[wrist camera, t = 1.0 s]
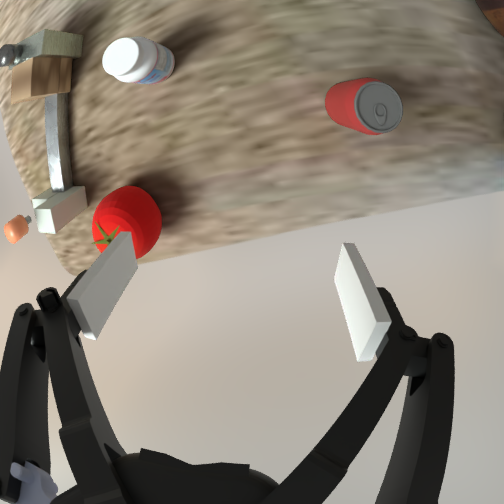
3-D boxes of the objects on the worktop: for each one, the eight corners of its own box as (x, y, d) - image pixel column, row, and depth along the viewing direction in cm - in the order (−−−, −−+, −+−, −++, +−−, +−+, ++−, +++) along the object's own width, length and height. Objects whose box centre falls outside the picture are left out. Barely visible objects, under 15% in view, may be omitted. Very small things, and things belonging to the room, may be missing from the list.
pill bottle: (135, 85, 31) (94, 85, 22) (139, 48, 28) (100, 36, 19) (174, 84, 32) (141, 79, 22) (178, 45, 28) (148, 28, 19)
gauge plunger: (21, 209, 32) (2, 223, 27) (33, 209, 32) (13, 223, 27) (25, 227, 33) (7, 242, 29) (37, 228, 33) (19, 244, 29)
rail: (49, 47, 26) (-2, 47, 14) (83, 35, 26) (30, 27, 15) (53, 187, 40) (7, 217, 28) (83, 186, 40) (37, 218, 29)
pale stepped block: (51, 187, 40) (17, 208, 31) (84, 186, 40) (50, 209, 31) (55, 206, 42) (23, 230, 33) (87, 207, 42) (55, 233, 33)
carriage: (49, 65, 27) (12, 67, 19) (72, 58, 27) (33, 56, 19) (48, 97, 30) (10, 104, 22) (70, 91, 30) (31, 96, 22)
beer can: (328, 128, 34) (355, 141, 24) (319, 84, 31) (343, 77, 21) (371, 124, 33) (410, 136, 23) (363, 80, 30) (402, 76, 20)
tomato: (163, 175, 39) (134, 200, 30) (174, 236, 44) (152, 274, 35) (106, 182, 39) (70, 207, 30) (120, 238, 45) (91, 273, 36)
